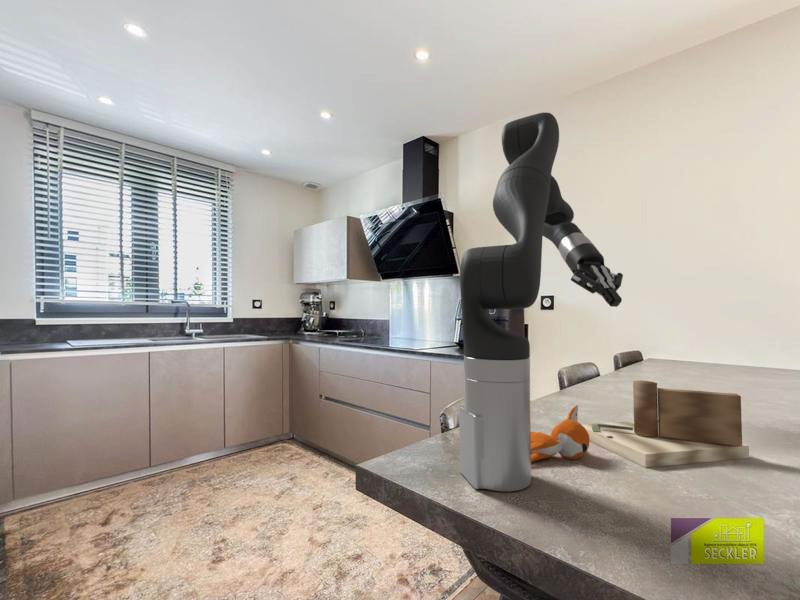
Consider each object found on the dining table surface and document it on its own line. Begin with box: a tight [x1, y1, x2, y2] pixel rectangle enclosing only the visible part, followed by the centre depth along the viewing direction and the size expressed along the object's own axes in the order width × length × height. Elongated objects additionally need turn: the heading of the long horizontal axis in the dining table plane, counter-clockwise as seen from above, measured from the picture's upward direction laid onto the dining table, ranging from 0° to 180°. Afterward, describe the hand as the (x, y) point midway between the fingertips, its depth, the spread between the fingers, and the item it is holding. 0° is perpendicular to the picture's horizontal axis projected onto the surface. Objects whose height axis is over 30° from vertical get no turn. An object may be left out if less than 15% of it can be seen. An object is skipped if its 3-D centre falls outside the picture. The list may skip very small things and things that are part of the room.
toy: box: [531, 404, 591, 464], centre depth 68 cm, size 8×22×15 cm
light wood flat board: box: [580, 420, 750, 468], centre depth 68 cm, size 20×16×2 cm
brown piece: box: [598, 380, 743, 446], centre depth 67 cm, size 21×4×9 cm, turn 64°
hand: (616, 303), depth 83 cm, fingers closed
